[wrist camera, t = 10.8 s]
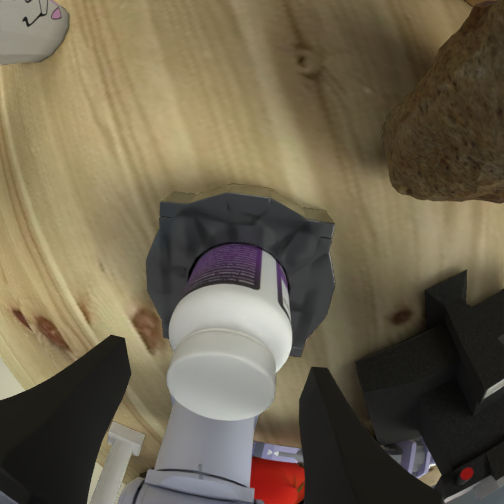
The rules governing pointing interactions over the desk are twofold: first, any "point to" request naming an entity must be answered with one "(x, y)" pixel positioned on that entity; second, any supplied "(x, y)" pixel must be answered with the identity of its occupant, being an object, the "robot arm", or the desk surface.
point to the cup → (30, 30)
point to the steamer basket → (476, 1)
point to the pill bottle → (230, 333)
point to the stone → (454, 118)
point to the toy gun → (405, 452)
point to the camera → (446, 389)
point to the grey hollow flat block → (246, 231)
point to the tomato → (277, 481)
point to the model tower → (116, 462)
